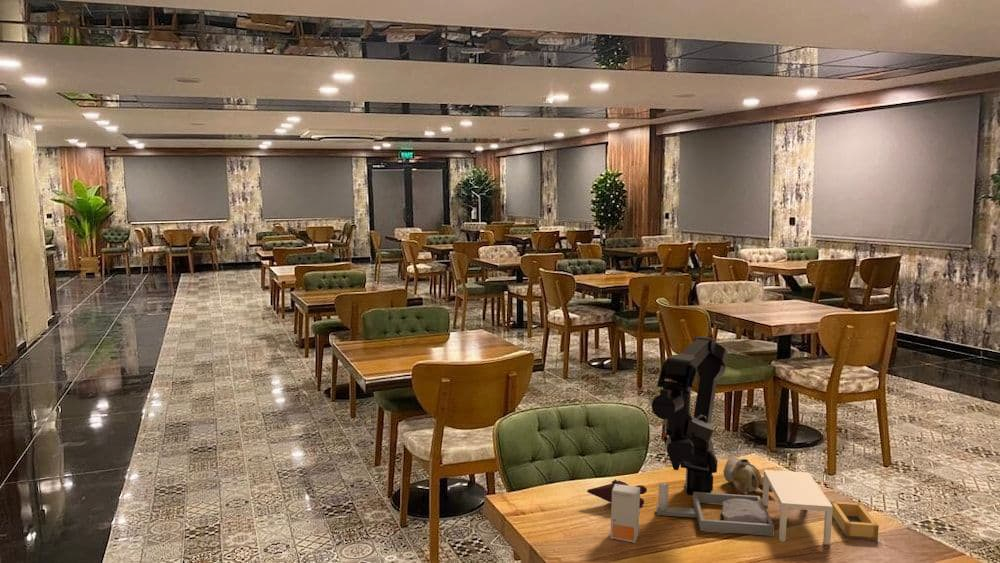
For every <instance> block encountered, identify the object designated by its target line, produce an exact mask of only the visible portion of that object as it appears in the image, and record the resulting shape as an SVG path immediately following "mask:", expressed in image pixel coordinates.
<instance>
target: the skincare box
mask: <svg viewBox="0 0 1000 563" xmlns="http://www.w3.org/2000/svg"><path fill="white" fill-rule="evenodd" d="M640 496H641V494H640V487H635V486H633V485H629V484H628V485H620V484H615V485H614V488H613V490H612V504H611V505H610V506H611V508H610V509H611V510H610V540H611V539H612V540H619V541H623V542H624V541H625V542H629V543H634V544H636V542H637V539H638V536H639V528H640V527H639V526H640V506H641V505H640V498H641V497H640Z"/></svg>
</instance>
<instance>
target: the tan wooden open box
mask: <svg viewBox="0 0 1000 563" xmlns="http://www.w3.org/2000/svg"><path fill="white" fill-rule="evenodd" d="M830 503H831V505H832V506H833V510H832V521H834V523H835V525H836V526H837V528H838V529H839V531H840V532H841V534H842V535H843V536H844V538H845V539H853V540H854V539H856V540H868V541H879V539H878V538H879V528H880V527H879V524H878V523H877V521H876V520H875V518H873V517H872V515H871V514H870V513H869V512H868V510H867V509H866V508H865V506H864V505H863V504H862V503H861V502H860V503H859V502H845V501H844V502H843V501H830Z"/></svg>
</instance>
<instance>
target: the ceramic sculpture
mask: <svg viewBox="0 0 1000 563" xmlns="http://www.w3.org/2000/svg"><path fill="white" fill-rule="evenodd" d="M723 468H724V469H723V476H724V479H725V480H726V482H728V483H732V484H733V487H734V490H735V491H736V493H737V494H738V495H749V493H750V492H751V493H752V492H754V491H756V490H760V491H762V492H763V477H764V476H763V477H762V474H761V472H760V470H759V469H758V468H757V467H756V466H755V465H754V464H752V463H750V461H749V460H748V459H746V458H743V459H742V458H741V459H740V458H738V457H736V456H735V455H733V454H729V456H728V458H727V461H726V463H725V465H724V467H723ZM769 493H773V491H772V489H771V487H770V485H769Z"/></svg>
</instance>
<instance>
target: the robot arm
mask: <svg viewBox="0 0 1000 563" xmlns="http://www.w3.org/2000/svg"><path fill="white" fill-rule="evenodd" d="M729 359H730V358H729V354H728V351H727V349H726V348H725V347H724V346H723V345H721V344H719V343H717V342H716V339H715V338H713V337H705V336H696V337H694V339H693V341H692V343H690V344H689V345H688V346H687V347H686V349H684V351H682V353H680V354H679V353H678V354H672V355H670V356H668V357H667V358H666V359H665V360H664V361H663V362H662V366H661V370H660V374H659V377H658V381H657V384H656V386H657V388H662V389H660V390H659V394H658V395H657V396H655V397H654V398H653V399H652V402H651V409H652V412H653V414H654V415H655V416H656V417H657V418H659V419H661V420H662V422H661V431H662V432H661V433H665V435H666V436H665V437H663V442H664V447H665V451H666V454H667V455H668V458H669V460H670V462H671V466H672V469H673V471H679V469H680V468H681V469H685V483H684V489H685V493H686V494H687V495H693V492H705V493H712V491H713V490H714V475H713V474H715V473H717V472H718V459H717V456H716V454H715V452H714V443H713V441H712V436H713V433H714V431H715V429H714V427H713V424H711V423H712V417H713V411H714V410H713V408H714V404H715V398H716V397H715V396H716V392H717V390H716V389H717V384H718V381H719V380H720V379H721V377H723V375H724V374H725V372H726V367H727V366H728V365H729V361H730V360H729ZM697 376H699V378H698V379H699V381H698V386H697V392H696V400H695V406H694V410H693V412H694V413H693V416H692V414H691V397H692V396H691V395H692V388H694V385H695V384H696V380H697Z"/></svg>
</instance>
